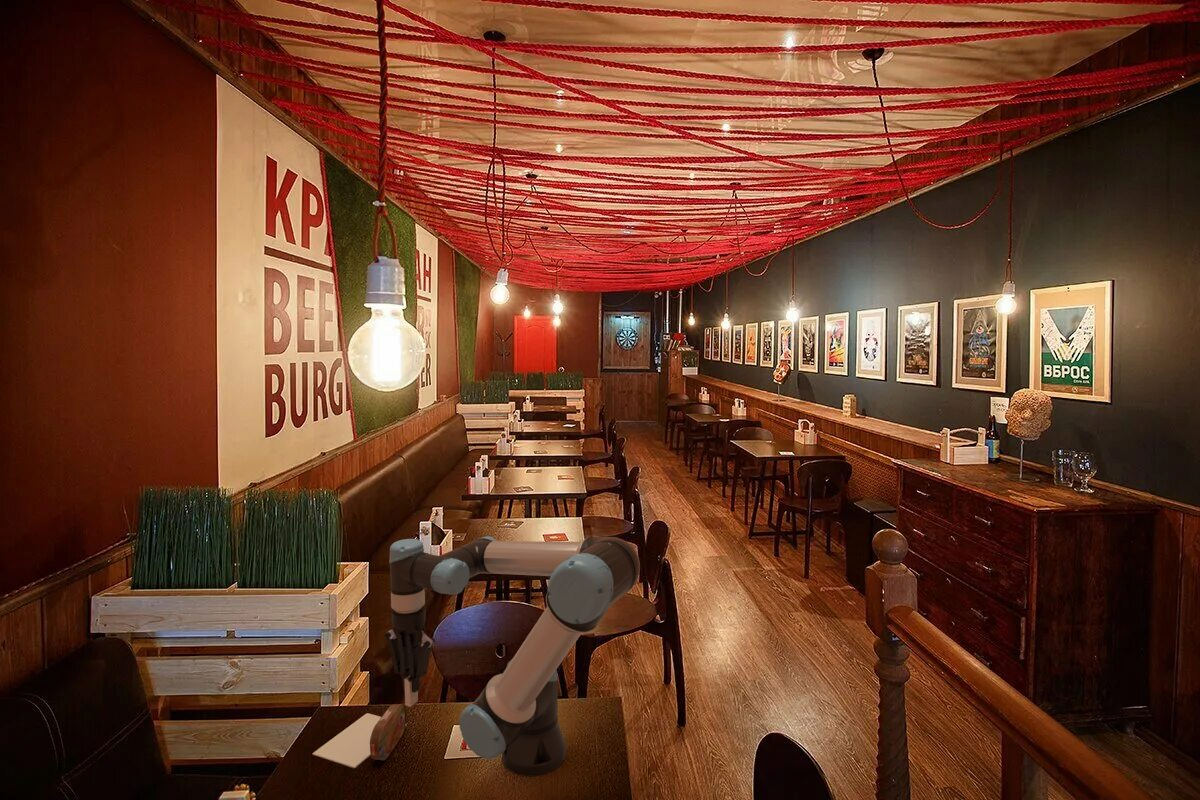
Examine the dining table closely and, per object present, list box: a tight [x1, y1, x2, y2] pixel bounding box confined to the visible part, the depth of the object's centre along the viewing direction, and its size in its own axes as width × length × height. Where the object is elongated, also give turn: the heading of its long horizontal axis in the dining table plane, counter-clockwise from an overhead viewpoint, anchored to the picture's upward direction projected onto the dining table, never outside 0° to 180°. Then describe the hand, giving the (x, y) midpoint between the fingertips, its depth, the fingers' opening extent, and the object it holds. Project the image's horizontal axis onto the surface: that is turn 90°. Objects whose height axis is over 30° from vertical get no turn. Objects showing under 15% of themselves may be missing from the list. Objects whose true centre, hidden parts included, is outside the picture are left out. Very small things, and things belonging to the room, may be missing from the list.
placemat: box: [312, 713, 407, 769], centre depth 161 cm, size 13×18×1 cm
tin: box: [370, 703, 407, 762], centre depth 157 cm, size 15×3×8 cm, turn 172°
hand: (411, 703), depth 154 cm, fingers closed
